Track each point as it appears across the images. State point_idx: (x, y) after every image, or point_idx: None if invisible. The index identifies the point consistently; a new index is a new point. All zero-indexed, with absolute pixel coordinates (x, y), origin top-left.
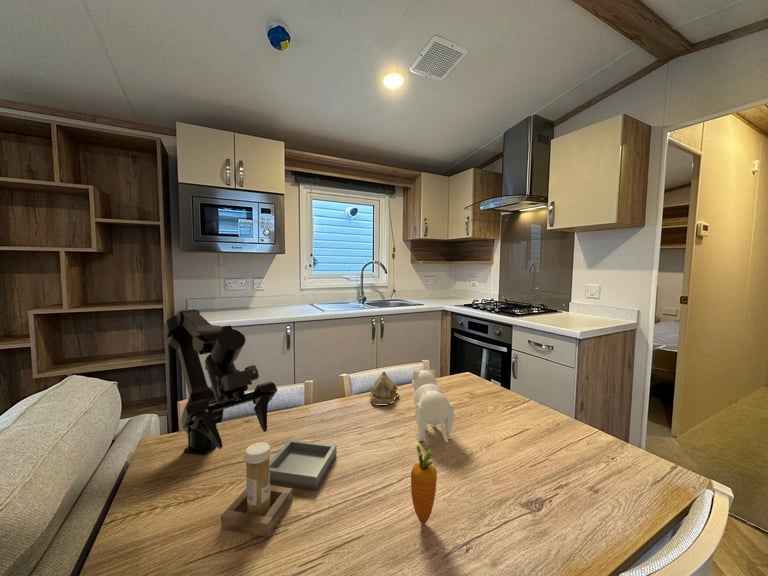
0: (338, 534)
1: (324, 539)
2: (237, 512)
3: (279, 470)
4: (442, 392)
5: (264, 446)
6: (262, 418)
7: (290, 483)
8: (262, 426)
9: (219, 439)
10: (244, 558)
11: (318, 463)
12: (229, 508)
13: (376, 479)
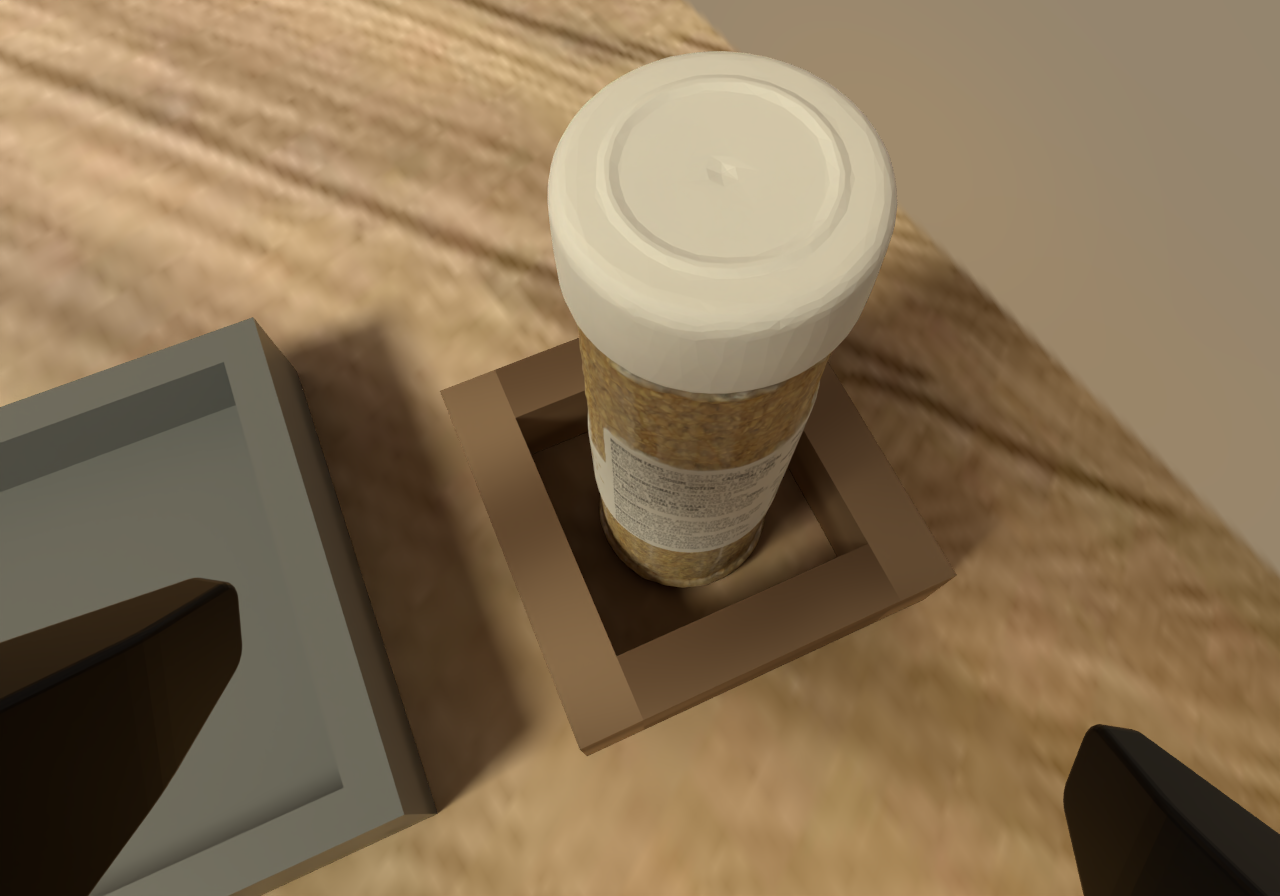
0: (516, 71)
1: (580, 99)
2: (853, 504)
3: (328, 646)
4: None
5: (636, 137)
6: (18, 725)
7: (347, 550)
8: (167, 713)
9: (1205, 814)
10: (915, 301)
11: (18, 544)
12: (875, 594)
13: (21, 149)
